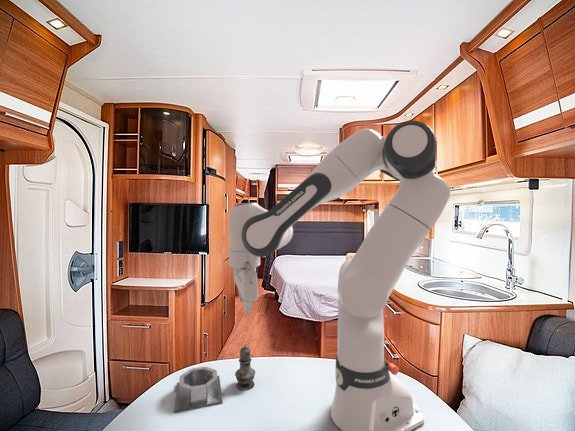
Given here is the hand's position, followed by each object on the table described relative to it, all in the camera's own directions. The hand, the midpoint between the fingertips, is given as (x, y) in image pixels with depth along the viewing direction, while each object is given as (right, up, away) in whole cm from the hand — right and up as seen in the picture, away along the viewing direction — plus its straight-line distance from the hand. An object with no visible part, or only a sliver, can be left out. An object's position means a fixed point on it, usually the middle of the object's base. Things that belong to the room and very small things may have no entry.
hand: (245, 306), depth 84 cm
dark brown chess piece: (0, -23, +1) cm, 23 cm away
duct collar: (-12, -23, -3) cm, 26 cm away
